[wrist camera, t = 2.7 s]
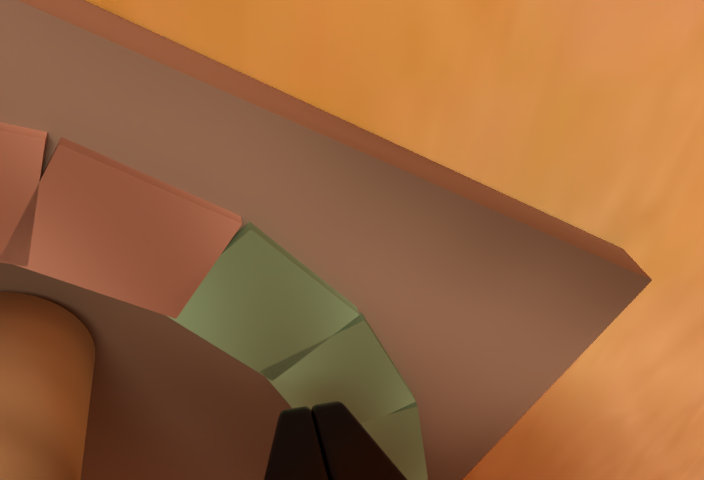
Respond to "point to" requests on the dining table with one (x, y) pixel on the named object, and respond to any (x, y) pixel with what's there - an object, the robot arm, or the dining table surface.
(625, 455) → the dining table surface
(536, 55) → the dining table surface
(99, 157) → the tuner board
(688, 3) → the dining table surface
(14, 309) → the peg dial
